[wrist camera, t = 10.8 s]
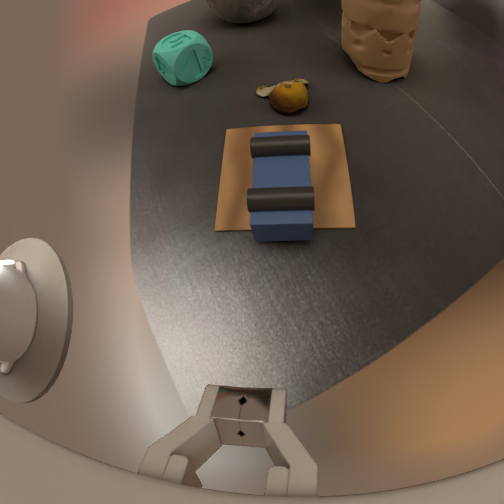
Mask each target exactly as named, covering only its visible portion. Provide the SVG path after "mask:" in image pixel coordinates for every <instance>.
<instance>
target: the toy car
mask: <svg viewBox="0 0 504 504" xmlns="http://www.w3.org/2000/svg"><path fill="white" fill-rule="evenodd" d="M250 153H251V157H252V159H253V175H252V188H248V190H247V209H248V212H249V213H251V214H250V226H251V229H252V232H253V234H254V237H255V240H256V241H294V240H312V235H313V211H314V210H315V198H314V187H313V186H311V177H310V163H309V157H310V156H311V147H310V136H309V135H307V131H279V132H262V133H255V137H254V138H251V139H250Z"/></svg>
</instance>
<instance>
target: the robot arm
mask: <svg viewBox="0 0 504 504" xmlns="http://www.w3.org/2000/svg"><path fill="white" fill-rule="evenodd" d="M6 264H7V265H6ZM36 323H37V298H36V293H35V290H34V287H33V285H32V283H31V282H30V280H29V278H28V276H27V270H26V265H25V263H24V262H22V261H16V262H14V261H12V260H4V261H0V371H1V372H2V373H4V374H9V373H10V372H11V370H12V368H13V366H14V364H15V363H16V362H17V361H18V360H19V359H20V358H22V357H23V356H24V355H25V353H26V352H27V350H28V349H29V347H30V345H31V342H32V340H33V337H34V333H35V329H36ZM286 411H287V390H286V389H275V388H247V387H246V388H242V387H231V386H220V385H210V384H208V385H207V386H206V387H205V390H204V393H203V396H202V399H201V402H200V405H199V408H198V411H197V414H196V416H191V417H190V418H189V419H187V420H186V421H185V422H183V423H182V424H180V425H179V426H178V427H176V428H175V429H174V430H172V431H171V432H169V433H168V434H167V435H165V436H164V437H163V438H161V439H160V440H158V441H157V442H155V443H154V444H152V445H151V446H149V447H148V449H147V451H146V453H145V456H144V458H143V460H142V463H141V465H140V468H139V470H138V472H137V473H134V472H131V471H128V470H124V469H121V468H118V467H115V466H112V465H109V464H106V463H103V462H101V461H98V460H96V459H93V458H90V457H88V456H85V455H82V454H80V453H78V452H75V451H73V450H70V449H68V448H66V447H64V446H61V445H59V444H57V443H55V442H53V441H51V440H49V439H47V438H44V437H43V436H40V435H38V434H37V433H35V432H32V431H31V430H29V429H27V428H25V427H23V426H22V425H20V424H18V423H16V422H15V421H13V420H11V419H9V418H8V417H6V416H4V415H3V414H1V413H0V504H504V459H502V460H500V461H497V462H495V463H492V464H489V465H486V466H484V467H481V468H478V469H475V470H472V471H469V472H466V473H462V474H459V475H456V476H453V477H449V478H445V479H441V480H437V481H433V482H429V483H424V484H420V485H415V486H411V487H405V488H400V489H393V490H387V491H380V492H372V493H364V494H354V495H341V496H321V497H317V489H318V465H317V464H316V462H315V461H314V460H313V458H312V457H311V456H310V454H309V453H308V452H307V450H306V449H305V447H304V446H303V445H302V443H301V442H300V440H299V439H298V438H297V436H296V435H295V433H294V432H293V431H292V429H291V428H290V426H289V425H288V424H287V423H286ZM222 444H225V445H238V446H250V447H262V448H266V450H267V452H268V453H269V456H270V457H271V459H272V461H273V463H274V465H275V466H272V467H271V468H269V469H268V475H267V482H266V488H265V494H264V495H249V494H240V493H231V492H223V491H216V490H210V489H204V488H202V484H201V482H200V480H199V478H198V477H197V475H196V473H195V471H196V470H197V469H198V468H199V467H200V466H201V465H202V464H203V463H204V462H206V461H207V460H208V459H209V458H210V457H211V456H212V454H214V453H215V452H216V451H217V450H218V449H219V448H220V447H221V446H222Z"/></svg>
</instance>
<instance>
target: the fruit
mask: <svg viewBox="0 0 504 504" xmlns="http://www.w3.org/2000/svg"><path fill="white" fill-rule="evenodd" d="M302 83H306V85H307V84H308V81H306V80H302V79H295V80H293V81H285V82H280V83H279V84H277V85H274V86H272V87H265V86H264V85H263V86H261V87H258V89H257V91H256V93H257V94H258V95H259V96H261V97H264V96H269V100H270V105H271V106H272V107H273V108H274V109H275V110H276V111H277V112H279V113H282V114H289V113H292V112H295V111H296V110H299V109H302V108H303V107H304V108H305V107H306V105H307V104H308V91H307V89H306V87H305V85H304V84H302Z"/></svg>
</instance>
